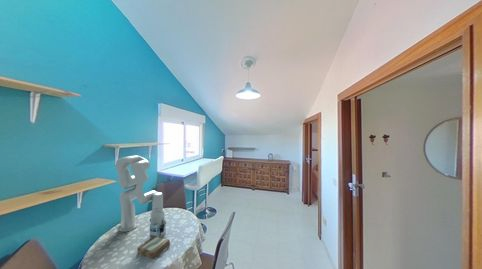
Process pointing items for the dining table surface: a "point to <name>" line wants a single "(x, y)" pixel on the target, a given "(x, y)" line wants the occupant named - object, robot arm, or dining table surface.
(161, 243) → the plinth
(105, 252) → the dining table surface
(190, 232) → the dining table surface
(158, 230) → the light bulb box
